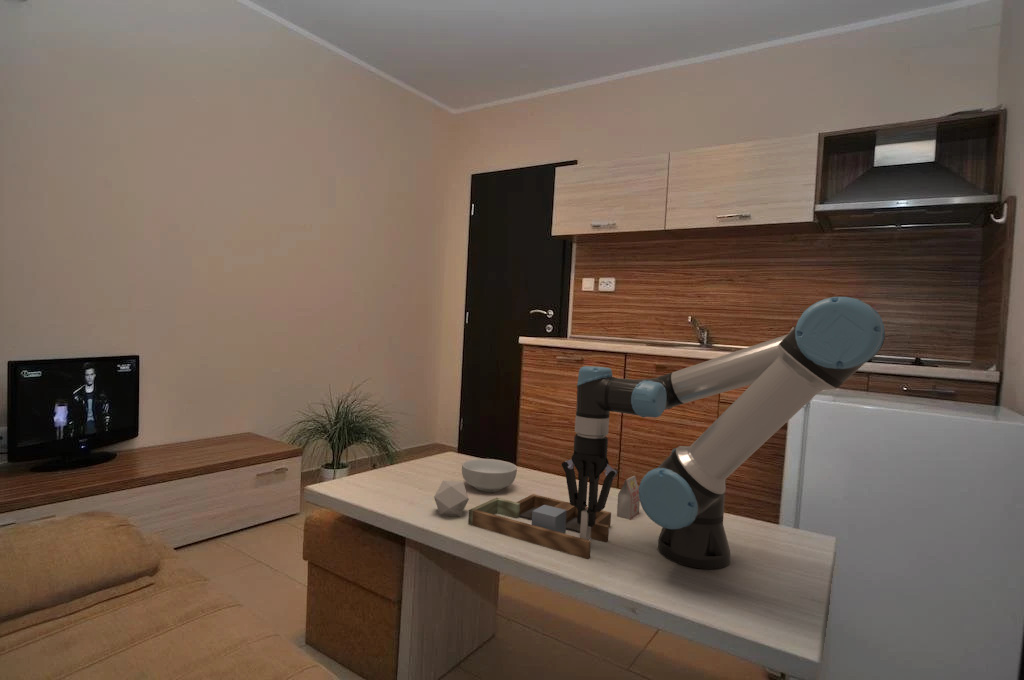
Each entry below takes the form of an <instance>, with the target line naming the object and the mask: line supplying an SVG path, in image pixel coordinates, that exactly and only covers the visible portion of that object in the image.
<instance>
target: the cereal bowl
mask: <svg viewBox="0 0 1024 680" xmlns="http://www.w3.org/2000/svg"><path fill="white" fill-rule="evenodd" d="M517 469H518V467H517V465H516V464H514V463H512V462H509V461H504V460H500V459H494V458H474V459H473V458H472V459H468V460H465V461H464V462H463V463H462V464H461V474H462V478H463V480H464V481H465V482H466V484H469V486H472V487H473V488H475V489H476V490H478V491H480V492H486V493H487V492H489V493H493V492H499V491H500V490H502V489H504V488H508V487H509V486H511V485H513V483H514V481H515V480H516V477H517Z"/></svg>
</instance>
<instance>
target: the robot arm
mask: <svg viewBox="0 0 1024 680" xmlns="http://www.w3.org/2000/svg"><path fill="white" fill-rule="evenodd" d="M885 338H886V333H885V324H884V322H883V320H882V318H881V315H880V314H879V313H878V312H877V310H876V309H874V308H873V307H872V306H871V305H870V304H867V303H865V302H864V301H862V300H860V299H858V298H855V297H849V296H832V297H827V298H824V299H822V300H818V301H817V302H815V303H813V304H811V305H810V306H808V307H807V308H806V309H805V310H804V311H803V312H802V314H801V316H800V317H799V318H798V320H797V322H796V326H792V328H791V329H790V331H789V332H788V334H785V335H781V336H779V337H776V338H773V339H769V340H766V341H764V342H761V343H760V342H759V343H757V344H754V345H751V346H748V347H744V348H742V349H740V350H736V351H734V352H733V351H732V352H730V353H727V354H724V355H721V356H718V357H715V358H712V359H709V360H706V361H703V362H699V363H697V364H694V365H691V366H687V367H685V368H682V369H679V370H675V371H673V372H670V373H666V374H663V375H660V376H657V377H653V378H641V379H632V378H621V377H620V378H619V377H615V376H613V370H612V369H611V368H610V367H605V366H595V365H594V366H593V365H591V366H587V365H585V366H582V367H580V368H579V370H578V376H577V384H576V411H575V419H574V433H576V434H575V435H574V438H573V454H572V455H571V458H570V459H568V460H565V461H563V462H562V463H561V467H562V469H563V470H564V474H565V479H566V485H567V493H568V497H569V498H568V500H569V503H570V504H571V505H572V506H575V507H576V508H577V509H578V515H577V522H578V524H581V528H580V533H579V538H582V539H586V540H590V539H592V538H591V527H593V526H594V525H595V520H596V512H600V511H601V510H603V511H604V509H605V507H606V504H607V500H608V497H609V496H610V495H609V494H610V491H611V488H612V484H613V481H614V479H615V478H616V476H617V475H618V474H619V471H618V469H616V468H613V467H612V466H611V465H610V464H609V463H610V462H609V460H608V450H609V449H608V445H609V438H608V437H607V436H608V435H609V427H610V412H612V413H614V412H615V413H619V414H620V413H621V414H627V415H633V416H637V417H638V416H639V417H641V418H659V417H660V416H662V414H663V413H664V412H665V410H670V409H673V408H675V407H678V406H681V405H684V404H687V403H691V402H694V401H698V400H701V399H704V398H708V397H711V396H716V395H718V394H722V393H726V392H730V391H733V390H737V389H740V388H742V387H743V388H744V387H747V386H748V387H747V388H746V389H745V390H744V391H743V392H742V393H741V395H740V396H738V397H737V398H736V399H735V401H734V402H732V403H731V404H730V406H729V407H728V408H726V409H725V411H723V413H721V415H720V416H718V417H717V418H716V420H714V421H713V422H712V424H710V425H709V426H708V427H707V429H706V430H705V431H704V432H703V433H702V434H700V435H699V437H698V438H697V439H696V440H695V441H694V442H693V443H692V444H691V445H690V446H687V445H686V446H685V445H679V446H677V447H673V449H672V450H671V452H670V454H669V455H668V457H667V458H665V460H663V462H662V463H661V464H659V466H658V467H656V468H652V469H651V470H649V471H648V472H646V474H645V475H644V476H643V477H642V479H641V481H640V482H639V485H638V487H639V498H640V505H641V508H642V510H643V512H644V513H645V515H647V518H649V519H650V521H652V522H653V523H654V524H656V525H658V526H660V527H661V528H662V529H661V530H660V533H659V535H658V539H657V551H658V552H659V554H661V556H663V557H664V558H666V559H668V560H669V561H672V562H674V563H677V564H679V565H682V566H686V567H690V568H695V569H705V570H716V569H721V568H725V567H727V566H728V565H729V564H730V562H731V549H730V544H729V542H728V538H727V534H726V530H725V527H724V514H725V499H726V498H725V497H726V495H725V494H726V490H727V489H726V487H727V486H726V483H727V482H726V481H727V480H726V479H727V478H728V477H729V476H731V475H732V474H733V473H734V472H735V471H736V470H737V469H738V468H739V467H740V466H742V465H743V464H744V463H745V462H746V461H747V460H748V459H749V458H750V457H751V456H752V455H753V454H754V453H755V452H756V451H758V450H759V448H761V447H762V446H763V445H764V444H765V443H766V442H767V441H768V440H769V439H770V438H771V437H773V435H775V434H776V433H777V432H778V431H779V430H780V429H781V428H782V427H783V426H784V425H785V424H786V423H788V422H789V421H790V420H791V419H792V418H793V417H794V416H795V415H796V414H797V413H798V412H799V411H800V410H801V409H803V407H805V405H807V404H808V403H809V402H810V401H811V400H812V399H813V398H815V396H816V395H817V394H818V393H819V392H821V391H824V390H825V391H830V390H833V391H834V390H837V389H838V388H840V387H841V386H842V385H843V384H844V383H845V382H846V381H847V380H848V379H849V378H850V377H852V376H853V375H854V374H855V373H856V372H857V371H858V370H860V368H862V366H864V364H866V363H867V362H869V361H871V360H872V359H874V357H876V356H877V355H878V354H879V352H880V350H881V349H882V348H883V346H884V343H885ZM575 470H576V471H577V473H578V475H577V477H576V472H575ZM604 471H605V472H604ZM602 473H604V475H605V477H604V480H603V482H602V486H601V490H600V491H599V481H600V476H601V475H602ZM577 479H578V486H577ZM588 482H589V483H588ZM588 484H589V485H588ZM599 492H600V494H599ZM598 494H599V496H598ZM587 495H588V496H587ZM587 499H588V500H587ZM587 501H588V503H587ZM585 507H588V509H587V508H586V509H585Z"/></svg>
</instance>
